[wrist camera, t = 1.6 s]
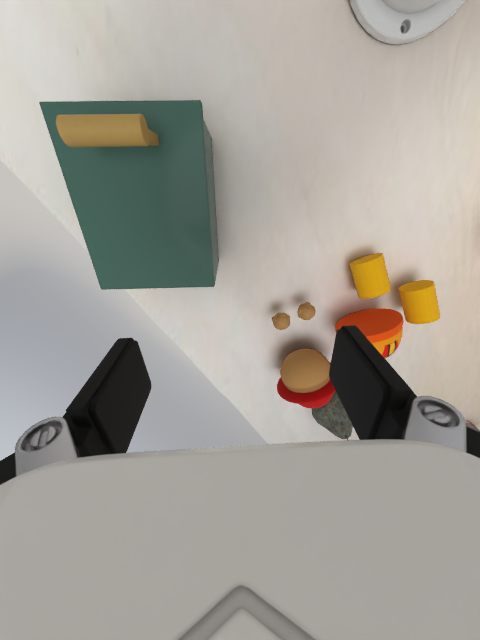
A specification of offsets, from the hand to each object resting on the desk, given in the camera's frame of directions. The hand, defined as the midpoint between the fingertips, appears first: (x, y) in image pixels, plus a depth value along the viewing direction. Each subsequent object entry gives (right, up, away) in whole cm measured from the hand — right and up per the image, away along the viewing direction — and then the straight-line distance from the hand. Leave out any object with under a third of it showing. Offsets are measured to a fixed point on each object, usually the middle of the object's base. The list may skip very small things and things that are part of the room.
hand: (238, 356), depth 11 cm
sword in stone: (+19, -16, +38) cm, 45 cm away
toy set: (+15, +2, +27) cm, 31 cm away
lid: (-8, +12, +10) cm, 18 cm away
